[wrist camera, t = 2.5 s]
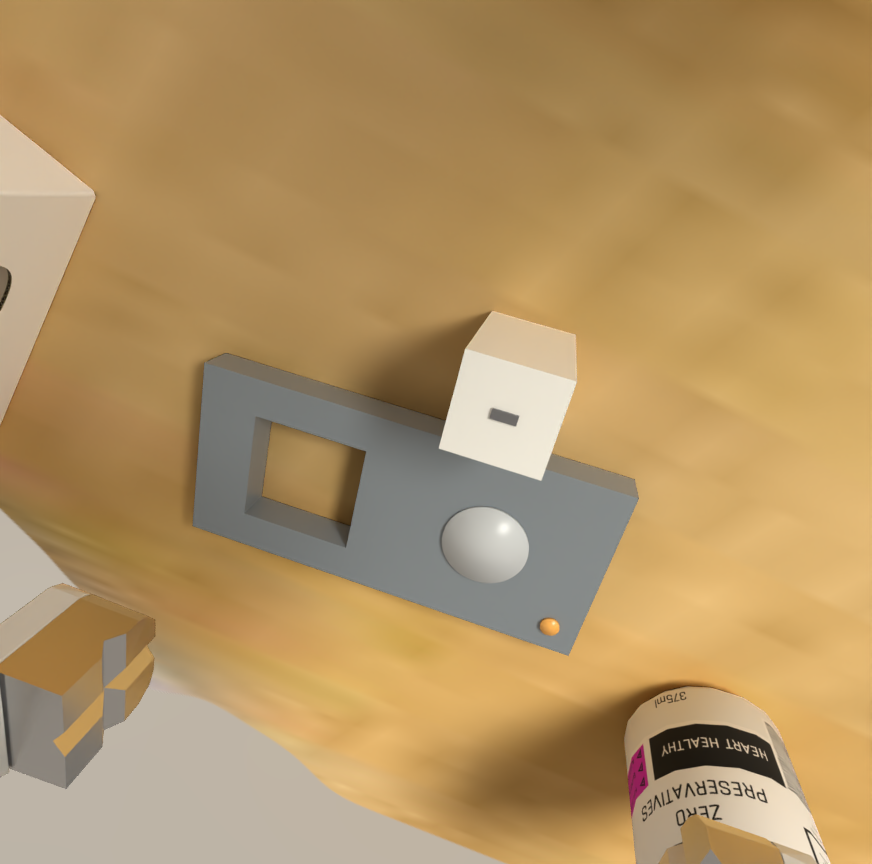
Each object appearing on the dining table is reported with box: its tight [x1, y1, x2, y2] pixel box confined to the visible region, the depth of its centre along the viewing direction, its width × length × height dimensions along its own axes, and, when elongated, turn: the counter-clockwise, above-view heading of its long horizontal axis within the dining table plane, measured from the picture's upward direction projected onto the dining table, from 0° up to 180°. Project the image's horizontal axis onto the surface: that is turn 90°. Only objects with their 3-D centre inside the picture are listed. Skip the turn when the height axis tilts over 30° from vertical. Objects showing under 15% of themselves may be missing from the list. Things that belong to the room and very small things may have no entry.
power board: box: [193, 353, 639, 655], centre depth 31 cm, size 22×10×2 cm, turn 76°
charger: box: [439, 311, 577, 481], centre depth 24 cm, size 4×4×8 cm
